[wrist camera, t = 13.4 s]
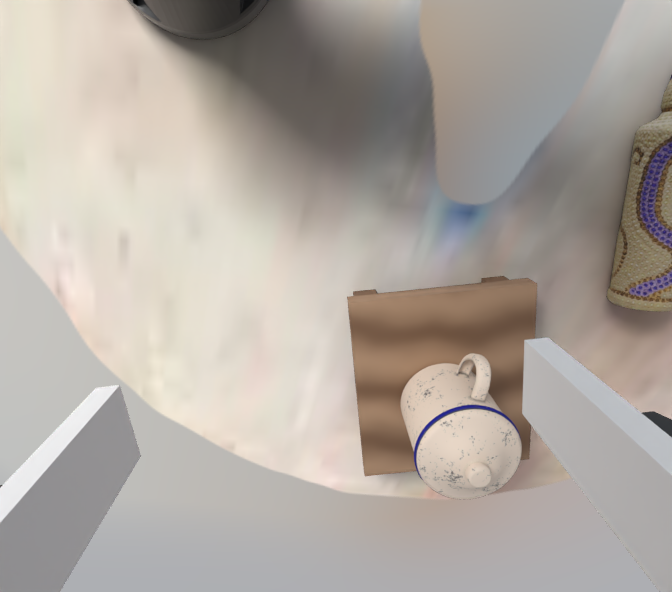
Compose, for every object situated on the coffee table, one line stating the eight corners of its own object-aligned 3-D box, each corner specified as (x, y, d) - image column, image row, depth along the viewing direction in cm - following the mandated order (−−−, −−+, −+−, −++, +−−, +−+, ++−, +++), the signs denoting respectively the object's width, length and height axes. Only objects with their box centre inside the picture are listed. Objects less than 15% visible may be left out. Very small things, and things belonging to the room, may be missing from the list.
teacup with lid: (469, 443, 47) (515, 533, 36) (387, 429, 46) (408, 516, 35) (506, 342, 43) (571, 407, 32) (418, 324, 42) (453, 385, 31)
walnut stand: (345, 285, 47) (348, 303, 41) (511, 268, 47) (537, 283, 41) (360, 441, 53) (364, 476, 47) (506, 426, 53) (529, 459, 48)
